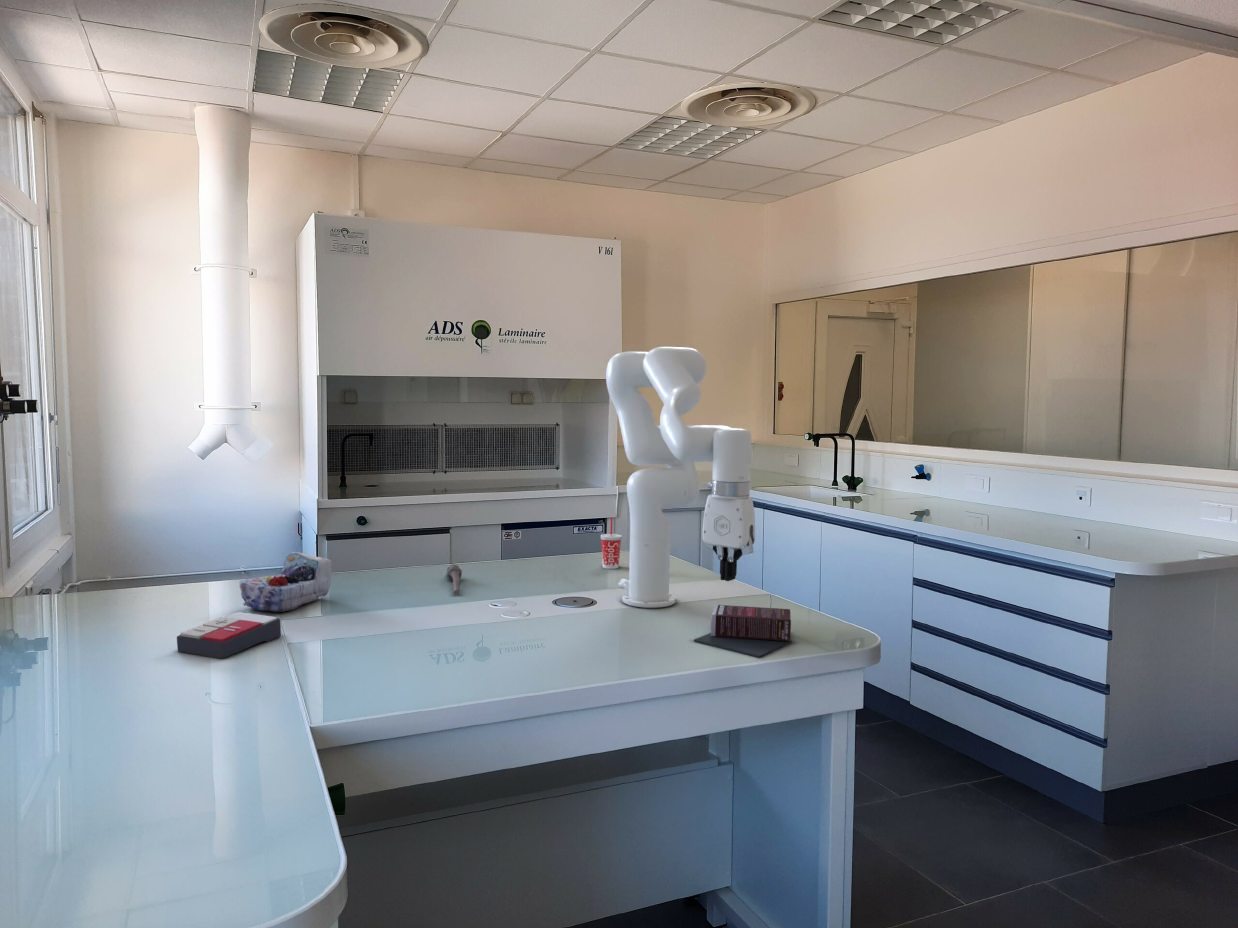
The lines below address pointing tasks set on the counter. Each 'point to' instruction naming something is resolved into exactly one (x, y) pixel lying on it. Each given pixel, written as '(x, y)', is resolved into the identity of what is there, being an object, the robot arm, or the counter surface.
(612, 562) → the beverage cup
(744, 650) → the mat
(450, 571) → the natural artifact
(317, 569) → the toy bassinet
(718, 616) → the supplement box
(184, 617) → the counter surface
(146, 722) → the counter surface
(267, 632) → the calculator
